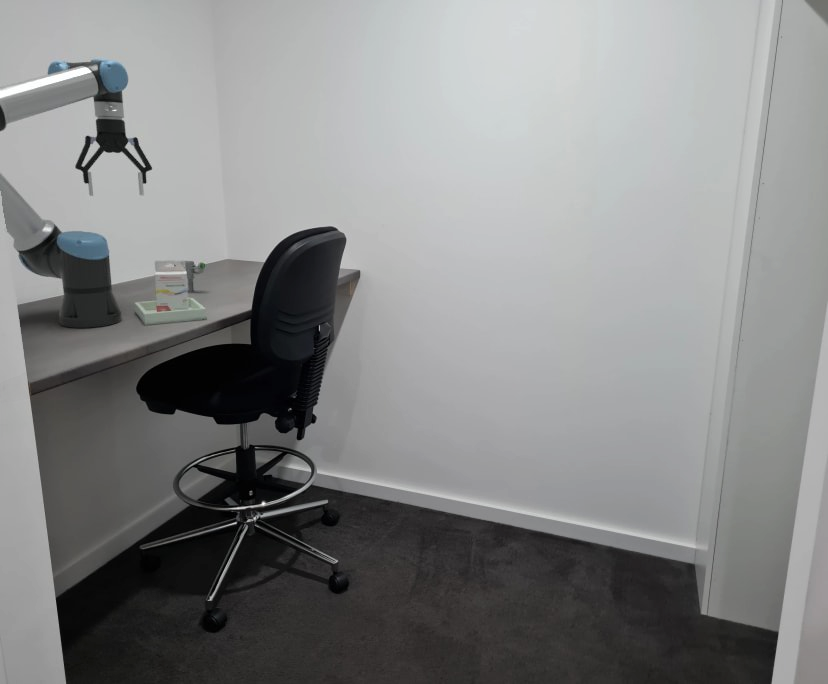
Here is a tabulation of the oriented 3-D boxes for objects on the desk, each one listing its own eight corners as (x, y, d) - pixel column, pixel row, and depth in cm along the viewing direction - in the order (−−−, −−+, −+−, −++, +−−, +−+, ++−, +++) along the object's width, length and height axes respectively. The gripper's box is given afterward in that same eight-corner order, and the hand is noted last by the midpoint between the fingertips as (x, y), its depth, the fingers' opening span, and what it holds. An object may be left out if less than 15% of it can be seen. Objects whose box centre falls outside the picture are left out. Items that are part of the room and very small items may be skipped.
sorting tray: (145, 325, 177) (144, 314, 176) (135, 312, 190) (134, 302, 190) (206, 319, 185) (206, 308, 184) (192, 307, 198) (192, 297, 198)
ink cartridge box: (156, 316, 184) (152, 263, 180) (157, 312, 189) (153, 260, 185) (189, 314, 187) (186, 262, 183) (189, 310, 192) (185, 259, 188)
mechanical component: (203, 293, 218) (201, 263, 216) (174, 291, 220) (172, 261, 218) (207, 292, 221) (205, 261, 218) (179, 290, 223) (177, 260, 220)
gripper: (61, 115, 180) (70, 196, 186) (158, 120, 193) (164, 195, 198) (59, 116, 186) (68, 194, 192) (153, 121, 199) (159, 194, 204)
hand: (117, 195), depth 195 cm, fingers open, 13 cm apart
